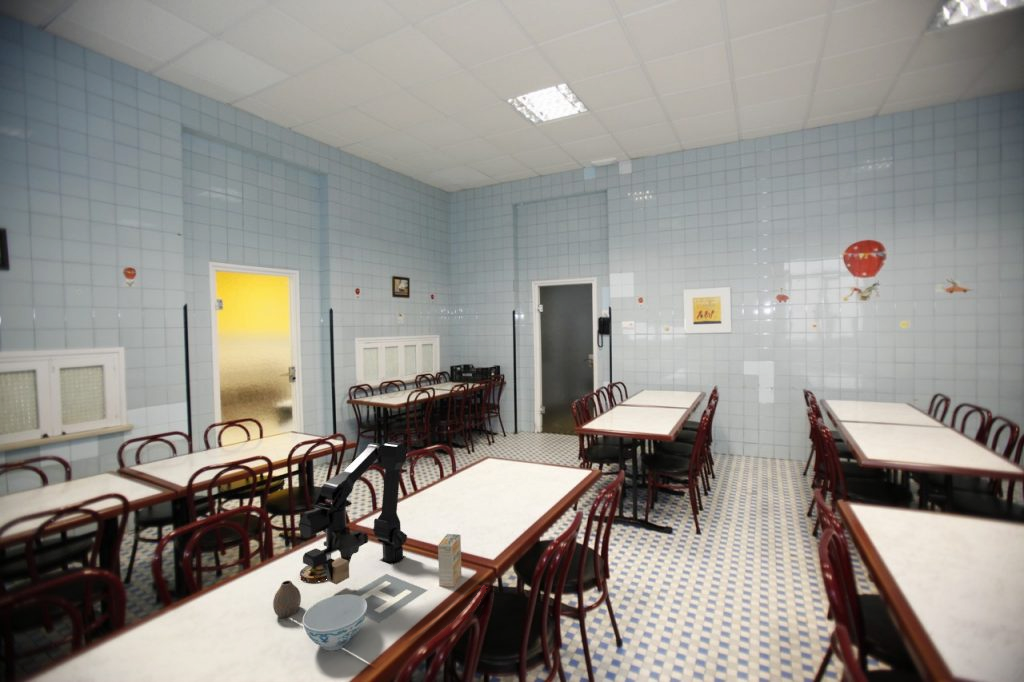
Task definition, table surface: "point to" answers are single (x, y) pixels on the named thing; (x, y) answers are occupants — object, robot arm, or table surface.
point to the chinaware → (335, 620)
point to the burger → (313, 574)
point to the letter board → (387, 596)
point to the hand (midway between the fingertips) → (338, 575)
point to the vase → (286, 600)
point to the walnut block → (339, 570)
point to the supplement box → (449, 560)
